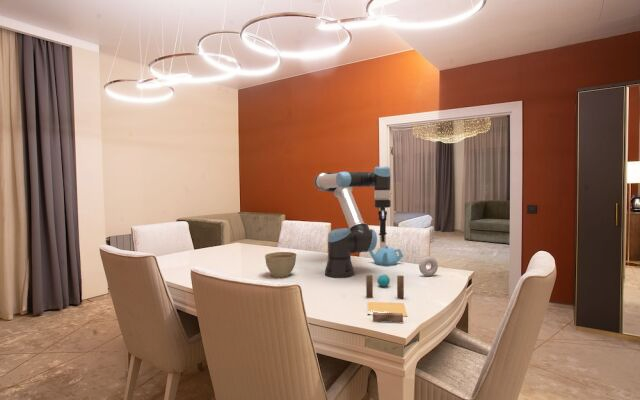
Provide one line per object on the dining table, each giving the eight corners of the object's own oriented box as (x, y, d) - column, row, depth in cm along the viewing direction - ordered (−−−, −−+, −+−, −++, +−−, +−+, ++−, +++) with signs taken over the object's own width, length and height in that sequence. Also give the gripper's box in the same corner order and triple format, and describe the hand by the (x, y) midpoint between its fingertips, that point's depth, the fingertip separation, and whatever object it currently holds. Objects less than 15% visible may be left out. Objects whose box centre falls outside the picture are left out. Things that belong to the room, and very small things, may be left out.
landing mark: (367, 315, 131) (367, 314, 131) (367, 302, 145) (367, 301, 145) (407, 316, 130) (407, 315, 130) (403, 303, 143) (403, 303, 143)
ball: (377, 288, 165) (377, 276, 164) (377, 284, 170) (377, 273, 170) (390, 288, 164) (390, 276, 164) (389, 285, 169) (389, 273, 169)
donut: (435, 274, 187) (435, 255, 187) (439, 276, 184) (439, 256, 184) (417, 275, 185) (417, 256, 185) (421, 277, 182) (421, 257, 181)
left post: (366, 297, 151) (366, 276, 151) (366, 295, 154) (366, 274, 153) (372, 298, 151) (372, 276, 150) (372, 296, 153) (372, 274, 153)
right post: (397, 298, 149) (397, 276, 149) (397, 296, 152) (396, 275, 151) (404, 298, 149) (403, 277, 149) (403, 297, 152) (403, 275, 151)
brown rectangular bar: (373, 321, 125) (373, 314, 125) (373, 319, 127) (372, 312, 127) (402, 322, 124) (402, 315, 124) (402, 320, 126) (402, 313, 126)
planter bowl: (276, 270, 201) (276, 250, 200) (302, 273, 194) (301, 253, 193) (258, 277, 187) (258, 256, 186) (285, 281, 179) (285, 258, 179)
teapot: (384, 267, 204) (384, 248, 203) (367, 263, 217) (367, 245, 216) (404, 264, 212) (404, 245, 212) (386, 259, 225) (386, 242, 224)
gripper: (391, 199, 168) (391, 250, 169) (389, 198, 181) (390, 246, 182) (374, 199, 169) (375, 250, 170) (374, 198, 182) (374, 245, 183)
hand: (382, 248), depth 176 cm, fingers closed
